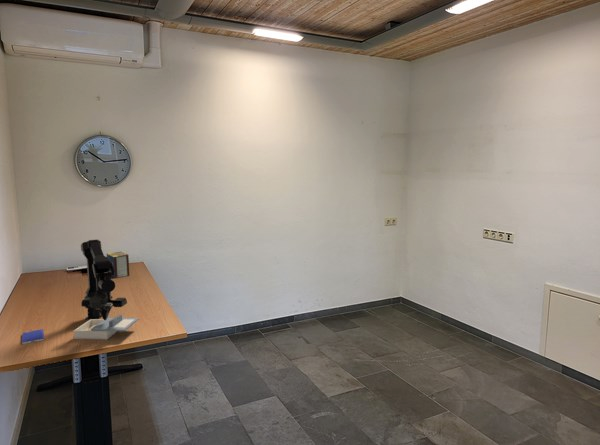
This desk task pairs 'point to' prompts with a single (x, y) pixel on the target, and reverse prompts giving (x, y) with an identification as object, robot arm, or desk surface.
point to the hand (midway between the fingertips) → (105, 319)
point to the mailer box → (86, 332)
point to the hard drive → (32, 336)
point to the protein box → (119, 264)
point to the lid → (115, 324)
